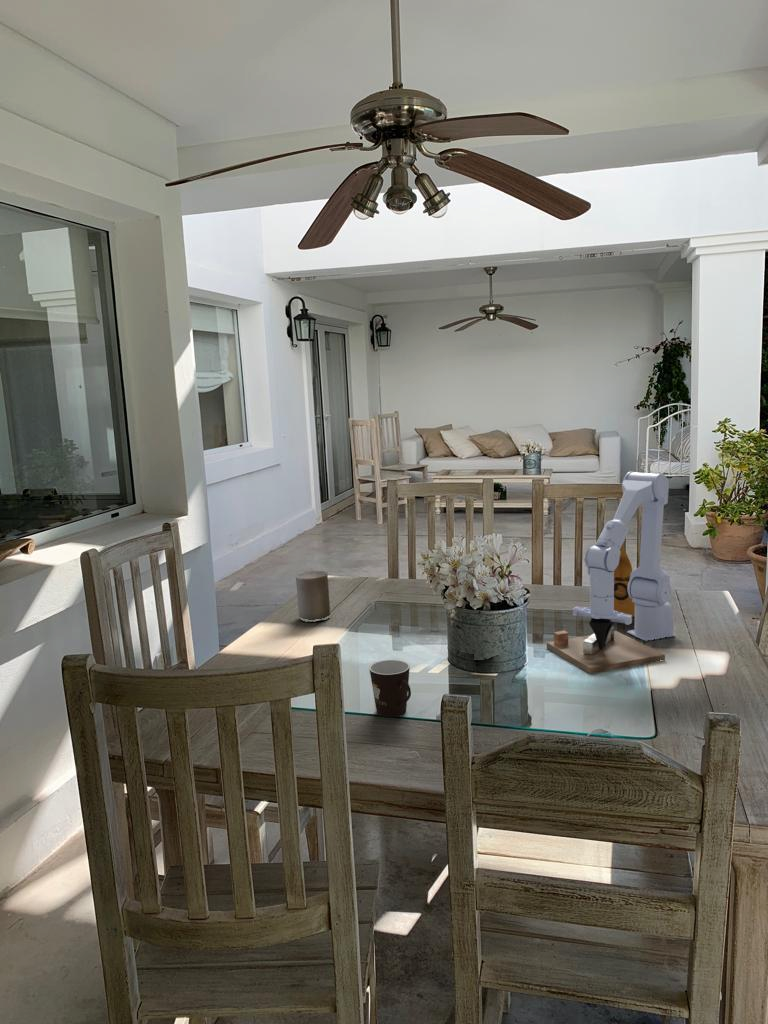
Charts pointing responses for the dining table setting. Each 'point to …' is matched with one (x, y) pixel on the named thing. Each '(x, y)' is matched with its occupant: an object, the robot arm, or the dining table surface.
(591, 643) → the bar
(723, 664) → the dining table surface
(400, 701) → the coffee mug
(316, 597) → the pillar candle
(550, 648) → the brown wooden board
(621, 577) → the coffee package
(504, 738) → the dining table surface
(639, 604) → the robot arm
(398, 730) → the dining table surface
